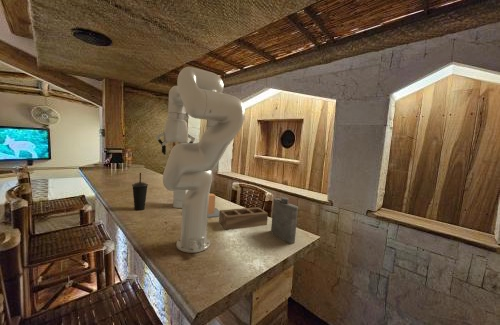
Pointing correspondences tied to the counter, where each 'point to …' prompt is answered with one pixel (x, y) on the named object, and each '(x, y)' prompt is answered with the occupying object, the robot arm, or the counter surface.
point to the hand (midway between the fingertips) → (175, 154)
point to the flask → (284, 220)
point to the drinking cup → (139, 195)
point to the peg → (211, 204)
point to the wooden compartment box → (242, 218)
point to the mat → (215, 214)
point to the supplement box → (179, 198)
